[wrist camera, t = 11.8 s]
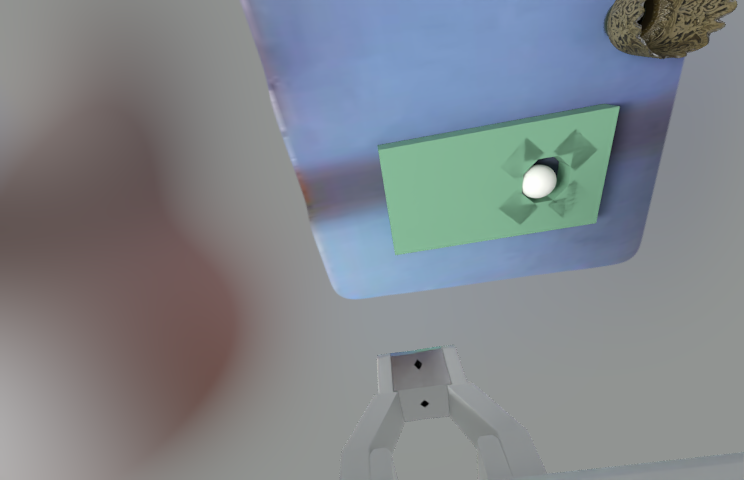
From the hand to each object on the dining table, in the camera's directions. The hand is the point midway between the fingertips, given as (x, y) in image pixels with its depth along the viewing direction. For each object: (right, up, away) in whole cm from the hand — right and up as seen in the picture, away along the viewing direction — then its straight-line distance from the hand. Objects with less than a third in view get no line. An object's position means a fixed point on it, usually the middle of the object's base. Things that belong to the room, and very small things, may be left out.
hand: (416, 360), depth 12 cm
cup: (+23, +27, +19) cm, 40 cm away
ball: (+18, +12, +25) cm, 33 cm away
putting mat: (+13, +12, +27) cm, 32 cm away
